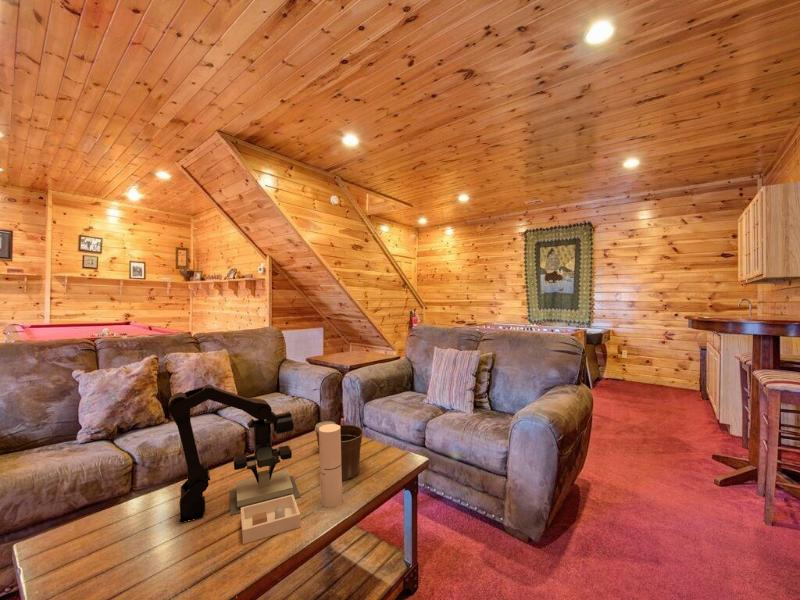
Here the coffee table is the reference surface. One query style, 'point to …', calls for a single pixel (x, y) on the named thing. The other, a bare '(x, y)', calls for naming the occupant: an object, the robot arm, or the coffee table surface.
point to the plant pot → (350, 450)
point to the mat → (237, 510)
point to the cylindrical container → (330, 465)
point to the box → (269, 518)
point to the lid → (263, 487)
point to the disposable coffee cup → (320, 426)
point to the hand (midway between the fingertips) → (263, 480)
